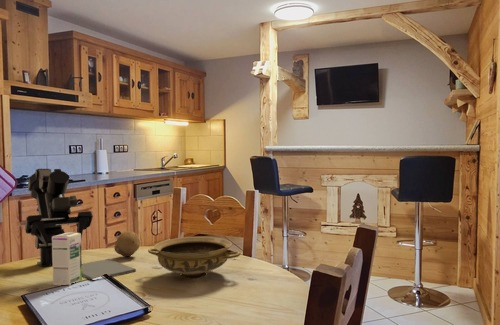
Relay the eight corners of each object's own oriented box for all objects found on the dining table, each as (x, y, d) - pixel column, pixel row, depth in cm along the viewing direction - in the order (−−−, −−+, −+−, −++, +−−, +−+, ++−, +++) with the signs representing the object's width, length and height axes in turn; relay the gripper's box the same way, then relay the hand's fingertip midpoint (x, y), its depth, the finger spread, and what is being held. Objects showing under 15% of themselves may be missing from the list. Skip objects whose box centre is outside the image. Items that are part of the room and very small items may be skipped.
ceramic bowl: (130, 284, 110) (129, 250, 110) (165, 263, 133) (165, 235, 133) (230, 290, 103) (229, 254, 103) (249, 267, 127) (248, 237, 127)
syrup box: (69, 286, 109) (69, 235, 109) (51, 285, 110) (51, 235, 110) (82, 280, 114) (82, 232, 115) (65, 279, 116) (64, 232, 116)
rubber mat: (68, 268, 128) (68, 266, 128) (108, 261, 138) (108, 258, 138) (93, 280, 114) (93, 278, 114) (135, 271, 124) (135, 268, 124)
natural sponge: (145, 256, 144) (145, 230, 144) (124, 261, 137) (124, 233, 137) (132, 253, 150) (132, 228, 150) (111, 257, 143) (111, 231, 143)
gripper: (26, 189, 114) (31, 230, 105) (90, 186, 125) (101, 223, 116) (22, 213, 120) (28, 253, 111) (84, 208, 131) (94, 245, 123)
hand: (64, 243), depth 115 cm, fingers open, 9 cm apart
